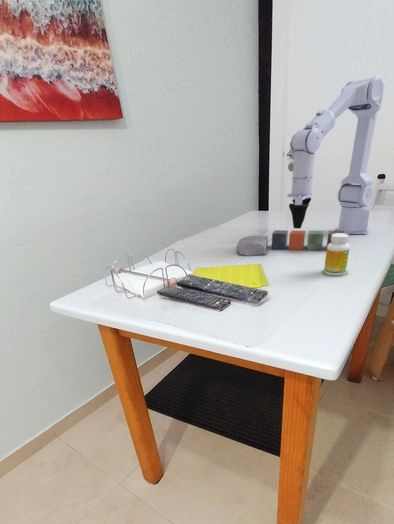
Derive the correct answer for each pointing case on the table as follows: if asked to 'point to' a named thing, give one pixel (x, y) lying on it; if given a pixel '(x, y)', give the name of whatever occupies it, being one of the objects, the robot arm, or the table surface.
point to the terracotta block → (296, 240)
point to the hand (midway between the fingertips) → (298, 225)
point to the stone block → (252, 245)
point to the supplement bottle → (337, 254)
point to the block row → (313, 239)
